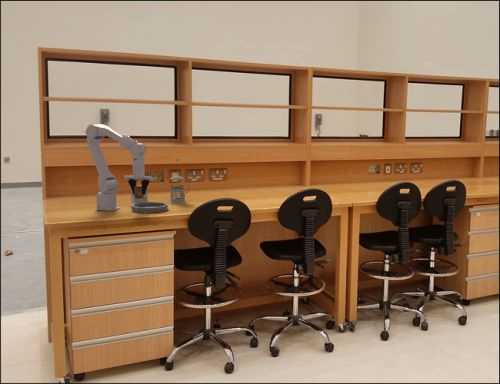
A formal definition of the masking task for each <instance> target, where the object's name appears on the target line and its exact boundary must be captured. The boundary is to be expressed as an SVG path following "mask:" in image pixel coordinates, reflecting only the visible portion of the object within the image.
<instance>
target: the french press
mask: <svg viewBox="0 0 500 384" xmlns="http://www.w3.org/2000/svg"><path fill="white" fill-rule="evenodd" d="M178 161H179V158H175V162H178ZM169 180H171V181H176V184H172V185H171V186H170V201H169V202H168V204H170V205H183V204H185V205H186V203H187V201H186V198H185V197H186V196H185V195H186V194H188V192H189V191H190V188H188V189H187V191H186V192H185V188H184V185H183V184H185V183H187V185H188V186H190V183H189V182H187V181H186V180H185V177H183V176H181V175H178V171H176V175H173V176H172V177H170V178H169ZM178 181H183V184H178V183H179V182H178Z"/></svg>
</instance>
